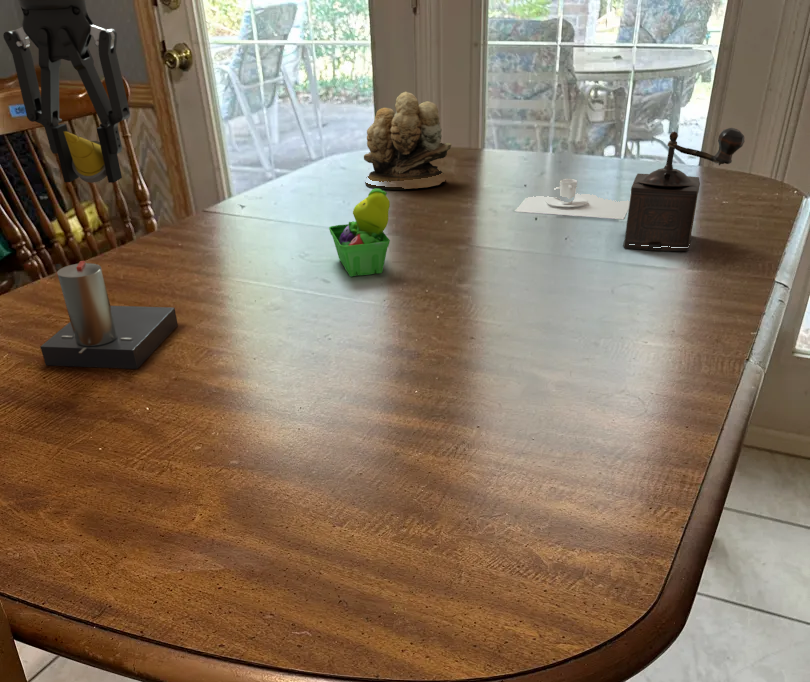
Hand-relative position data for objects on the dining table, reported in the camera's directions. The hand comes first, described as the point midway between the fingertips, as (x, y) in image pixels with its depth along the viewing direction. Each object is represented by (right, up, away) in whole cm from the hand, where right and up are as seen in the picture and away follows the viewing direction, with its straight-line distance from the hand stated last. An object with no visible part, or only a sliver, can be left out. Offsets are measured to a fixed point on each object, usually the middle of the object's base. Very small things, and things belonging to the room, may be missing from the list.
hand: (93, 179), depth 110 cm
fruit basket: (+35, -5, +20) cm, 41 cm away
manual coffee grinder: (+86, +1, +26) cm, 90 cm away
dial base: (+4, -23, -3) cm, 23 cm away
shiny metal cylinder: (+3, -23, -7) cm, 24 cm away
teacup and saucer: (+75, +17, +48) cm, 90 cm away
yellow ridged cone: (0, 0, 0) cm, 1 cm away
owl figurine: (+42, +26, +62) cm, 79 cm away
